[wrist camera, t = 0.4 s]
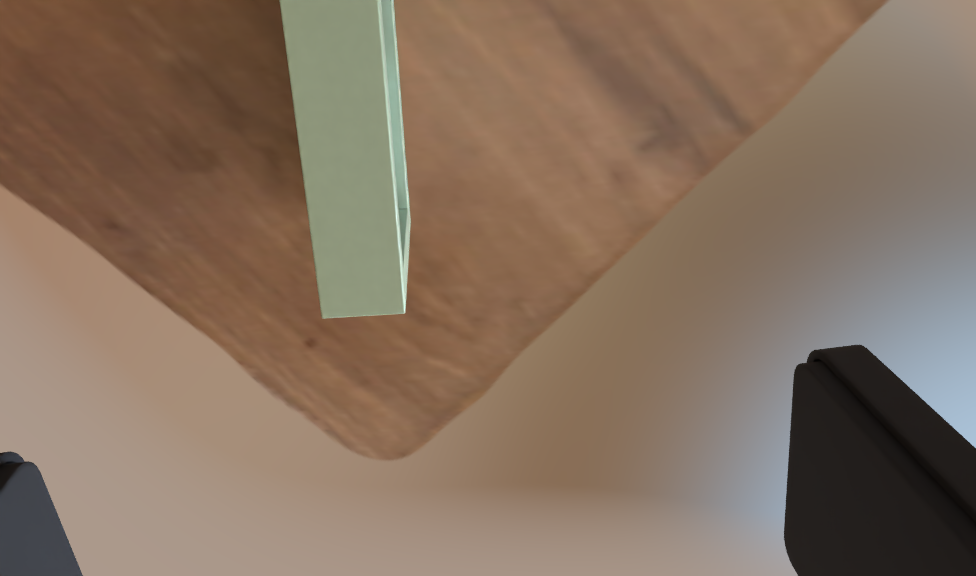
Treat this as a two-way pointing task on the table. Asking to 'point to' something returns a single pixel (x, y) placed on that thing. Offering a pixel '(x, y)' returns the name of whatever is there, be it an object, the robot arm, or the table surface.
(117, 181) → the table surface
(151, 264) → the table surface
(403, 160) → the window frame
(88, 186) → the table surface
